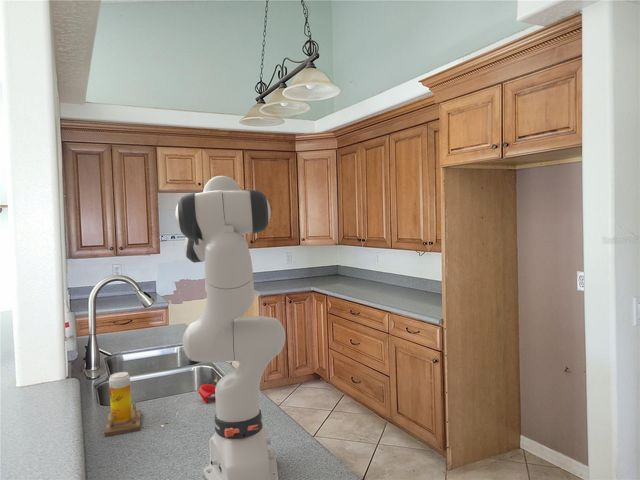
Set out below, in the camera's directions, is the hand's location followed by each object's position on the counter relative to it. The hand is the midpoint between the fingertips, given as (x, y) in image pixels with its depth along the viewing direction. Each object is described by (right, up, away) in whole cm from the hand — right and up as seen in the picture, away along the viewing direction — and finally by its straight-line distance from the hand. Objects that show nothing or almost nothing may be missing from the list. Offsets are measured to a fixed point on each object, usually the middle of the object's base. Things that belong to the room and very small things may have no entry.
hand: (229, 308), depth 160 cm
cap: (-9, -34, +9) cm, 37 cm away
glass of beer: (-32, -35, -9) cm, 48 cm away
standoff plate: (-32, -36, -9) cm, 49 cm away
